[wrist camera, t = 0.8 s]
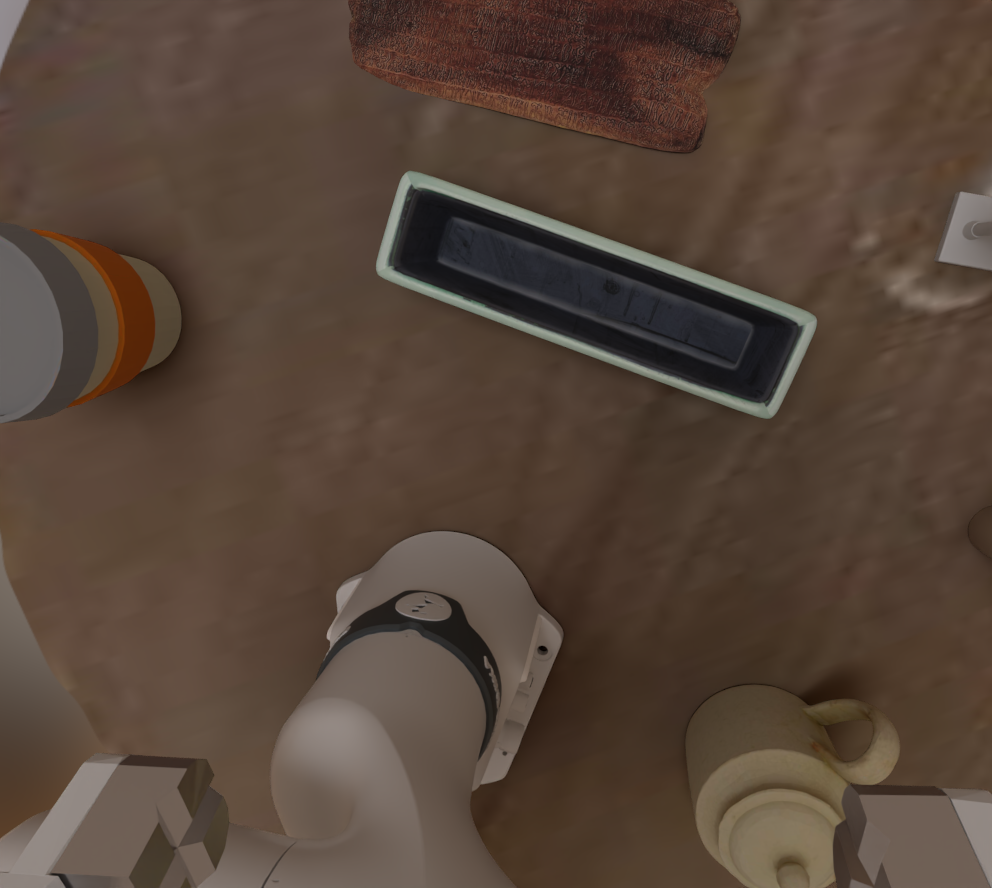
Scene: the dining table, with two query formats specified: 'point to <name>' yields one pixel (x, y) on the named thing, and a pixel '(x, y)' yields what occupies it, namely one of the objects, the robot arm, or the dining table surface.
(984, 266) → the test tube rack
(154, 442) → the dining table surface
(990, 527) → the clay rod
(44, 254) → the reusable coffee cup
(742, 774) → the sugar bowl
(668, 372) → the planter
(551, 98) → the wooden tablet
